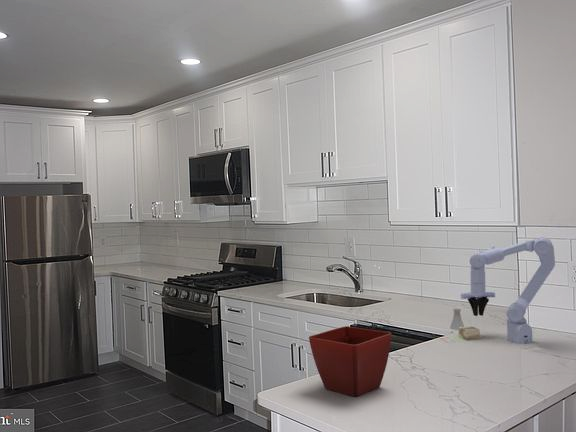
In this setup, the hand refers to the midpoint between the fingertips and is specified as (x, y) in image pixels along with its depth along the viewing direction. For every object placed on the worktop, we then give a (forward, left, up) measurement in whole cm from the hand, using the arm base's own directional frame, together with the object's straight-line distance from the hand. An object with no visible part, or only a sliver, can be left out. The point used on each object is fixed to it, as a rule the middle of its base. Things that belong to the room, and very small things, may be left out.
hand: (478, 315), depth 222 cm
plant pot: (-40, +69, -11) cm, 80 cm away
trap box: (0, +7, -10) cm, 12 cm away
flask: (+18, 0, -11) cm, 21 cm away
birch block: (0, +5, -9) cm, 10 cm away
